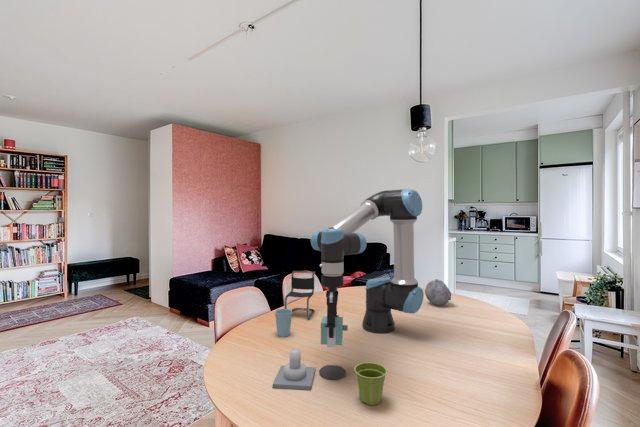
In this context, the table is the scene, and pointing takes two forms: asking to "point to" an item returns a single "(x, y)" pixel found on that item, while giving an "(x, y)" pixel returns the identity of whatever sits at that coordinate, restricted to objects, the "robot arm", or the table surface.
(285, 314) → the cup
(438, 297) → the decorative orb
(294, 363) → the square plate with peg
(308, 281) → the chair
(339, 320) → the teal cube with tab
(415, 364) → the table surface
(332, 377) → the coaster
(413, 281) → the robot arm
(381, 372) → the plant pot
